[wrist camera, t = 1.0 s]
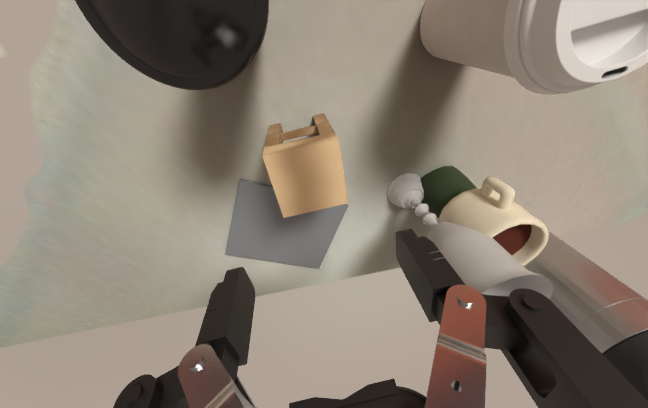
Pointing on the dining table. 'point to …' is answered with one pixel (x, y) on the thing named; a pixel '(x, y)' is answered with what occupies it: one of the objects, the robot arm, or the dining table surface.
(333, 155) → the light wood stool
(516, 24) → the coffee cup
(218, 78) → the drinking cup
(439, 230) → the chalice
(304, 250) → the mat
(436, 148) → the dining table surface
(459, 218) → the character mug
